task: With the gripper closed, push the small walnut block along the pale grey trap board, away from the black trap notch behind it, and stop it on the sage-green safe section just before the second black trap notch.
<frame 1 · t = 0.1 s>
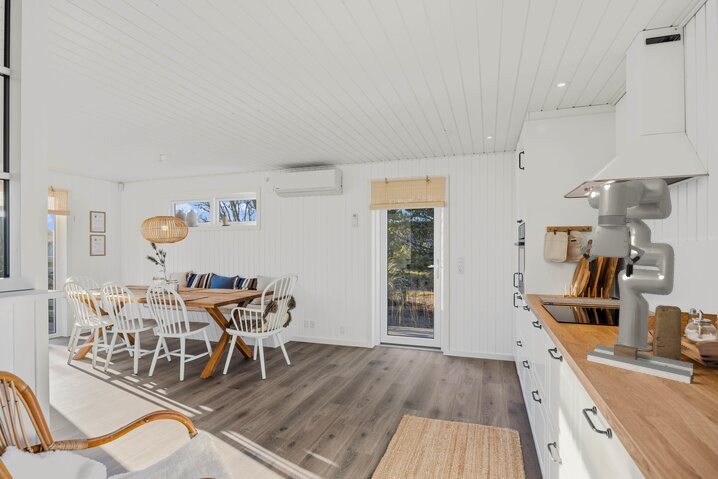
hand: (609, 275, 119), 31 cm above the counter, tool pointing down, fingers open, 9 cm apart
walnut block: (625, 358, 127), point 2 cm above the counter, touching trap board
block: (665, 363, 131), on the counter
trap board: (637, 367, 125), on the counter
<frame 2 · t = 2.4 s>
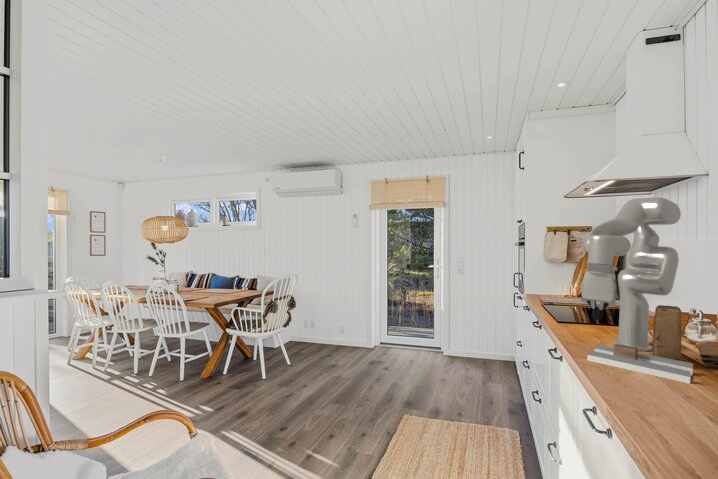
hand: (597, 319, 133), 14 cm above the counter, tool pointing down, fingers closed
nothing on the counter moved.
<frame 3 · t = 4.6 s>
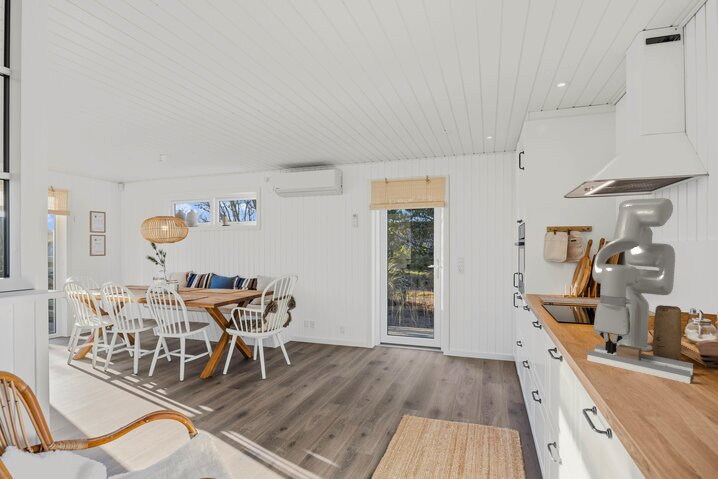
hand: (610, 352, 130), 3 cm above the counter, tool pointing down, fingers closed
walnut block: (628, 359, 127), point 2 cm above the counter, touching gripper
everything else where it was.
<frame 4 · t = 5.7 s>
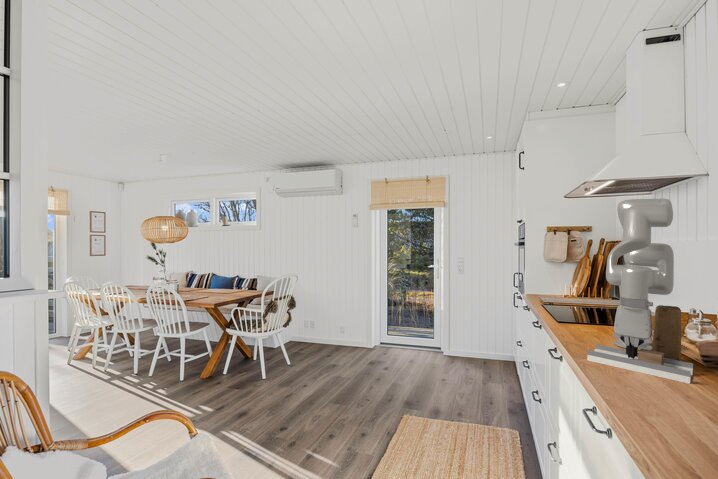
hand: (631, 357, 126), 3 cm above the counter, tool pointing down, fingers closed
walnut block: (650, 364, 122), point 2 cm above the counter, touching gripper
everything else where it was.
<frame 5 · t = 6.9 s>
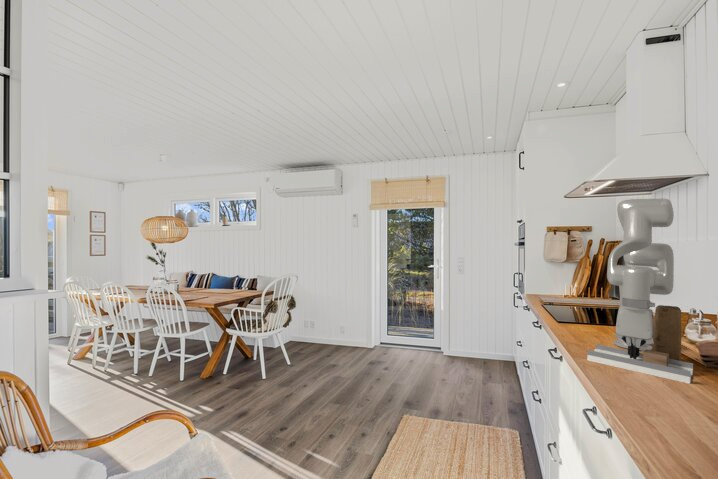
hand: (633, 357, 126), 3 cm above the counter, tool pointing down, fingers closed
walnut block: (655, 365, 121), point 2 cm above the counter, touching trap board
everything else where it was.
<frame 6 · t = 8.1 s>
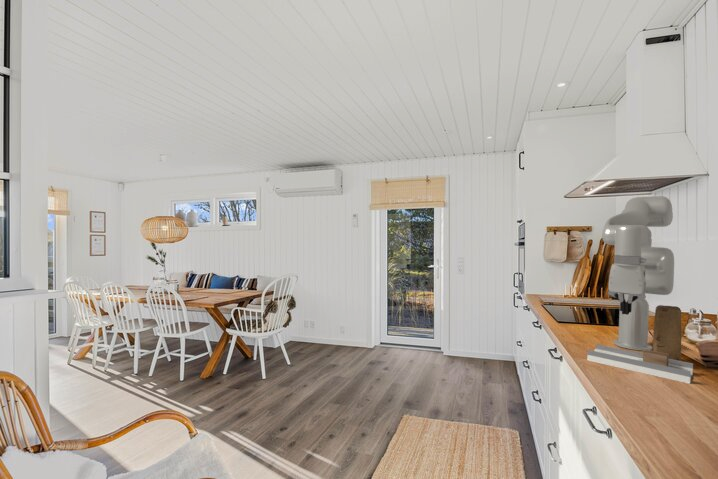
hand: (625, 313, 128), 17 cm above the counter, tool pointing down, fingers closed
nothing on the counter moved.
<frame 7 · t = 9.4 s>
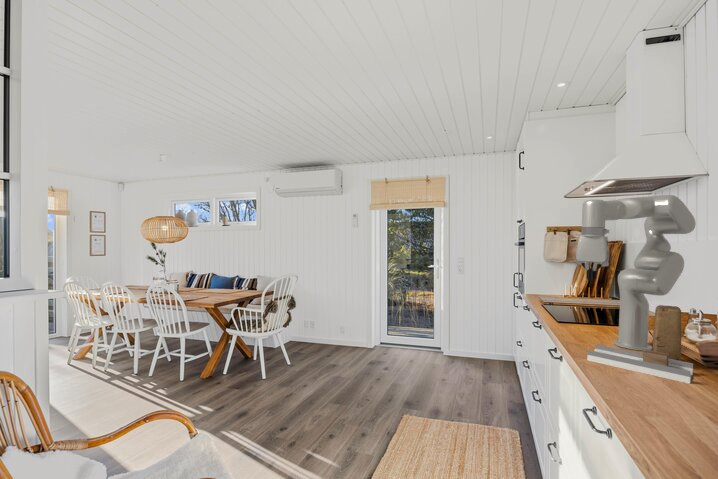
hand: (591, 280, 140), 27 cm above the counter, tool pointing down, fingers closed
nothing on the counter moved.
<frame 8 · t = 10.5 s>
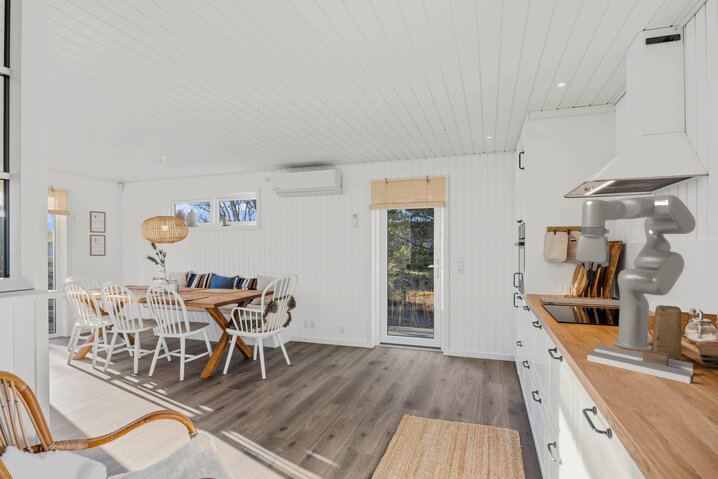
hand: (591, 280, 140), 27 cm above the counter, tool pointing down, fingers closed
nothing on the counter moved.
at the end: walnut block 1.1 cm from the target spot, point 1.9 cm above the counter; walnut block tilted 0° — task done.
